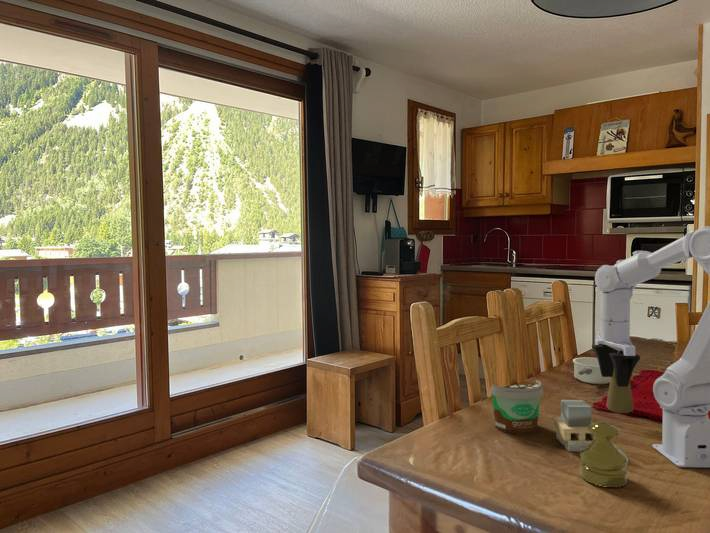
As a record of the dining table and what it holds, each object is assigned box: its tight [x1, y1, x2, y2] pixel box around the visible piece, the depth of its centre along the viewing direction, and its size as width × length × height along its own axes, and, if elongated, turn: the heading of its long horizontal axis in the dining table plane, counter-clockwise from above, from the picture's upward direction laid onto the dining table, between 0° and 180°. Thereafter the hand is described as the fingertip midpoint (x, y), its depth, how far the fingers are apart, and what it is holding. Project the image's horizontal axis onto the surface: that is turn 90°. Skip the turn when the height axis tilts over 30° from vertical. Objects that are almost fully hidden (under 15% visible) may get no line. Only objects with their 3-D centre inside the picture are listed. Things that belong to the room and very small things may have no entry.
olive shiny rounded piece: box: [579, 420, 629, 488], centre depth 88 cm, size 7×7×10 cm
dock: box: [555, 431, 593, 452], centre depth 104 cm, size 7×6×2 cm
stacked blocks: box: [551, 399, 595, 441], centre depth 103 cm, size 7×7×6 cm
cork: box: [605, 370, 635, 414], centre depth 124 cm, size 6×6×11 cm
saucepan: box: [572, 357, 611, 385], centre depth 146 cm, size 12×20×6 cm, turn 142°
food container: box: [489, 379, 545, 435], centre depth 111 cm, size 12×6×10 cm, turn 105°
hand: (614, 381), depth 113 cm, fingers open, 7 cm apart
